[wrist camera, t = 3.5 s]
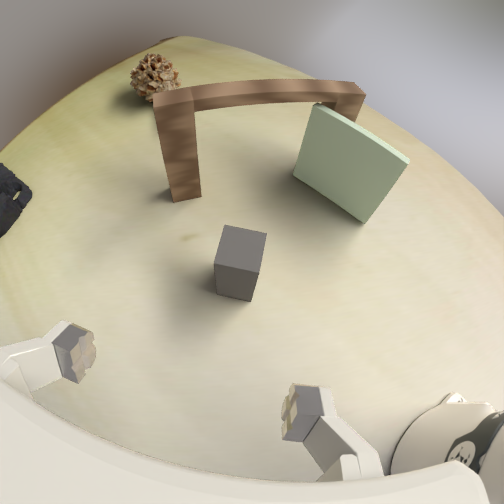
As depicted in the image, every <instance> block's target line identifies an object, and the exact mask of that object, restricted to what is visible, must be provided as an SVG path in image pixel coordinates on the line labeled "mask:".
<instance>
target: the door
mask: <svg viewBox="0 0 504 504" xmlns="http://www.w3.org/2000/svg"><path fill="white" fill-rule="evenodd" d="M409 161H410V159H409V158H407V157H406V156H404V155H403V154H402V153H400V152H399V151H397V150H396V149H395V148H393V147H392V146H390V145H389V144H387V143H386V142H384V141H383V140H381V139H380V138H378V137H377V136H375V135H374V134H372V133H370V132H369V131H367V130H366V129H364V128H362V127H361V126H359V125H357V124H356V123H354V122H352V121H351V120H349V119H347V118H346V117H344V116H342V115H340V114H338V113H337V112H335V111H333V110H331V109H329V108H327V107H326V106H324V105H322V104H320V103H318V102H317V103H316V104H314V105H313V107H312V110H311V114H310V117H309V121H308V124H307V128H306V131H305V135H304V138H303V142H302V145H301V149H300V152H299V155H298V159H297V162H296V165H295V169H294V172H293V176H295V177H297V178H298V179H300V180H301V181H303V182H304V183H306V184H307V185H309V186H310V187H312V188H314V189H315V190H317V191H318V192H320V193H321V194H322V195H324V196H325V197H327V198H328V199H330V200H331V201H333V202H334V203H336V204H337V205H338V206H340V207H341V208H343V209H344V210H346V211H347V212H348V213H350V214H351V215H353V216H354V217H355V218H357V219H358V220H359V221H361V222H362V223H364V224H365V223H366V222H367V221H368V219H369V218H370V217H371V215H372V214H373V213H374V211H375V210H376V209H377V207H378V206H379V205H380V203H381V202H382V201H383V199H384V198H385V196H386V195H387V194H388V192H389V191H390V189H391V188H392V187H393V185H394V184H395V182H396V181H397V180H398V178H399V177H400V175H401V174H402V172H403V171H404V170H405V168H406V167H407V165H408V163H409Z"/></svg>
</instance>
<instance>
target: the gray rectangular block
mask: <svg viewBox="0 0 504 504" xmlns="http://www.w3.org/2000/svg"><path fill="white" fill-rule="evenodd" d="M266 235H267V233H262V232H258V231H253V230H248V229H243V228H238V227H233V226H228V225H224V228H223V232H222V236H221V239H220V243H219V246H218V250H217V253H216V257H215V261H214V270H215V279H216V288H217V295H222V296H226V297H231V298H235V299H240V300H245V301H250V302H251V300H252V296H253V293H254V289H255V286H256V282H257V279H258V275H259V271H260V266H261V261H262V256H263V251H264V246H265V241H266Z"/></svg>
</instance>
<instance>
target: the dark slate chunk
mask: <svg viewBox="0 0 504 504" xmlns="http://www.w3.org/2000/svg"><path fill="white" fill-rule="evenodd" d="M18 191H21V192H20V194H19V196H18V197H17V198H16V199H15V200H13V197H14V196H15V194H16V193H17V192H18ZM31 198H32V191H31V190H30V189H29V187H28V186H27V185H25V184H24V182H22V181H21V180H19V179H18V178H17V177H15V174H13V172H12V171H10V170H8V168H6V167H5V166H4V165H3V163H0V238H1V237H2V236H3V235H4V234H6V232H7V231H8V230H9V229H10V228H11V226H12V225H13V224H14V222H15V221H16V220H17V219H18V217H19V216H20V213H21V212H22V210H23V209H24V208H25V206H26V203H27V202H28V201H29V200H30V199H31Z"/></svg>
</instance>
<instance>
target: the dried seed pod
mask: <svg viewBox="0 0 504 504" xmlns="http://www.w3.org/2000/svg"><path fill="white" fill-rule="evenodd" d="M172 67H173V64H172V62H171V61H170V60H169V61H166V60H165V57H163V56H162V55H159V54H158V55H157V56H156V55H155V54H149V53H148V54H147V55H146V56H145V57H144V59H143V60H141V61H140V64H139V66H137V68H135V67H133V70H132V71H131V73H130V74H131V75H132V76H131V78H132V79H133V80H132V82H131V83H130V85H131V86H133V87H134V89H137V91H136V93H137V94H138V95H139V96H143V95H144V96H146V100H148V101H149V102H151V101H153V94H154V93H159V92H164V91H169V90H174V89H176V88H177V87H179V86H180V85H181V84H180V83H181V81H182V80H181V79H178V78H177V77H178V73H179V72H177V68H176V69H172Z"/></svg>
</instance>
